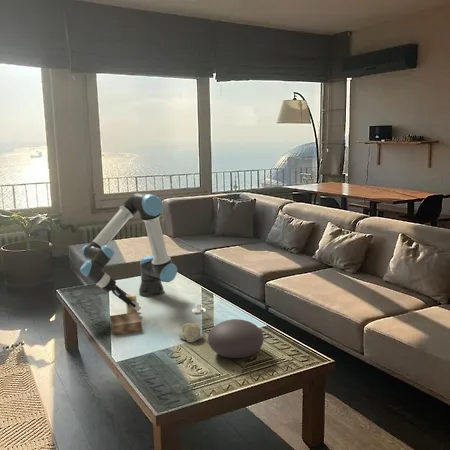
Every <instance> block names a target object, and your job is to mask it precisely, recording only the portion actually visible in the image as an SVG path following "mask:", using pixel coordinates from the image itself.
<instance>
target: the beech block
mask: <svg viewBox="0 0 450 450" xmlns="http://www.w3.org/2000/svg"><path fill="white" fill-rule="evenodd" d="M126 297H128V298H129V299H130V300H132V301H133V302H135V303H136V304H137V302H138V301H137V295H136V293H134V292H133V293H127V294H126ZM125 304H126V303H125ZM134 312H137V313H138V311H136V310H135V309H134V308H133V307H131V306H130V305H129V306H127V304H126V314H127V313H134Z"/></svg>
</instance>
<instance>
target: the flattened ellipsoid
mask: <svg viewBox="0 0 450 450" xmlns="http://www.w3.org/2000/svg"><path fill="white" fill-rule="evenodd" d="M207 343H208V346H209V347H210V349H211V350H212V351H213V352H214V353H216V354H218V355H220V356H222V357H224V358H228V359H243V358H246V357H250V356H253V354H256V353H257V352H258V351H259V350H261V347H262V346H263V343H264V333H263V332H262V330H261V328H260V327H259V326H258V325H256V324H254V323H253V322H250V321H249V320H245V319H237V318H236V319H233V318H231V319H227V320H223V321H221V322H218V323H217V324H215V325H214V326H213V327H212V328H211V329H210V330H209V333H208V336H207Z"/></svg>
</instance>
